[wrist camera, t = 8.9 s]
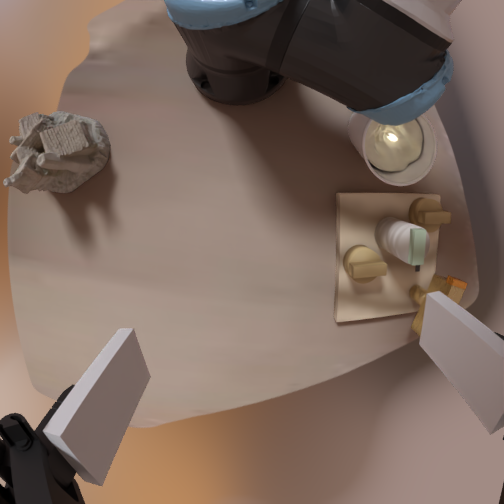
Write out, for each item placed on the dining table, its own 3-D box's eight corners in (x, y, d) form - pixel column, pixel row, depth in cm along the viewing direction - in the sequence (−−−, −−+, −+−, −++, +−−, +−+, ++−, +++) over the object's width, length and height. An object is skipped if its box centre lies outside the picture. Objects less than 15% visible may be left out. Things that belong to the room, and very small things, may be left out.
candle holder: (413, 134, 37) (450, 153, 27) (370, 172, 41) (396, 202, 31) (374, 86, 34) (405, 87, 24) (329, 126, 38) (344, 141, 28)
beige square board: (335, 192, 40) (363, 198, 30) (433, 193, 40) (475, 201, 29) (333, 316, 45) (353, 354, 35) (423, 304, 45) (456, 333, 34)
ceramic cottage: (116, 169, 40) (54, 163, 25) (48, 205, 41) (-13, 214, 27) (100, 87, 37) (45, 59, 22) (36, 130, 39) (-21, 121, 24)
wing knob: (398, 314, 43) (425, 343, 34) (420, 259, 41) (454, 278, 31) (411, 317, 43) (439, 345, 34) (433, 263, 41) (467, 283, 31)
